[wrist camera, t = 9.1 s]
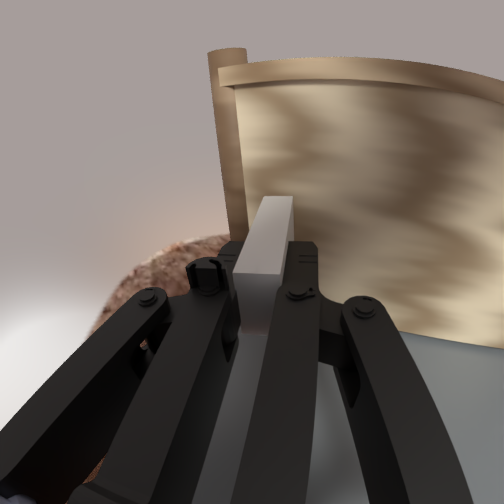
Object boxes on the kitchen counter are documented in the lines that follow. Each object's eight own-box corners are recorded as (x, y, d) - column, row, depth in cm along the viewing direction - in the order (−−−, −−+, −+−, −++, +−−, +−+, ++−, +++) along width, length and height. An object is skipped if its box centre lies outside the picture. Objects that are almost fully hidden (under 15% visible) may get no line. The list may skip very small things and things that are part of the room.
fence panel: (524, 333, 12) (587, 104, 4) (529, 354, 11) (606, 109, 3) (246, 277, 21) (221, 55, 14) (232, 294, 20) (199, 54, 12)
